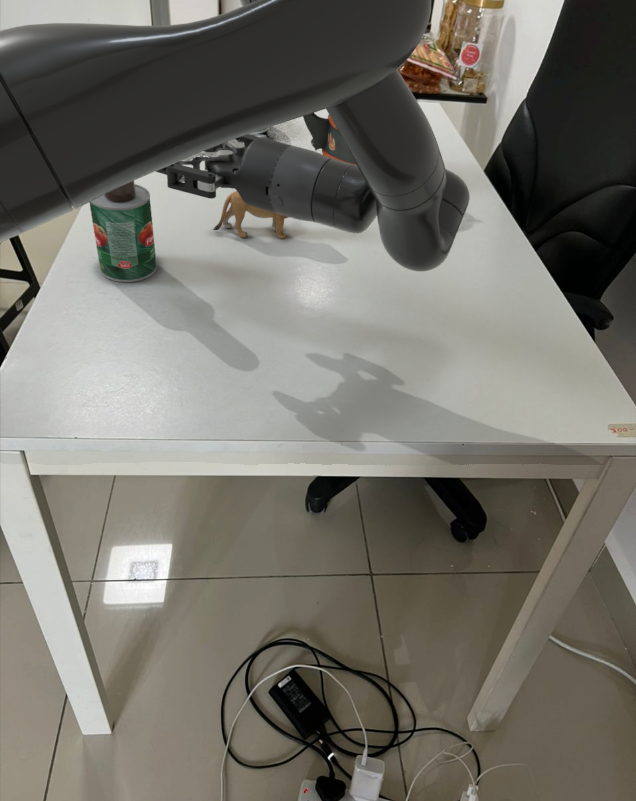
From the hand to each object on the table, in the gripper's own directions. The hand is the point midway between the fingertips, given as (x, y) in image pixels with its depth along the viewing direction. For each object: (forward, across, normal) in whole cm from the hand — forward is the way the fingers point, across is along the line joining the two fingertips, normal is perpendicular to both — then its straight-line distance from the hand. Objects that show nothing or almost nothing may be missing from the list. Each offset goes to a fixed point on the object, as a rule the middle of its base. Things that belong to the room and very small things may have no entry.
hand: (169, 147), depth 77 cm
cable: (+27, -58, +19) cm, 67 cm away
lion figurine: (-2, -21, +19) cm, 28 cm away
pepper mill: (+9, 0, +8) cm, 12 cm away
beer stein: (-4, -50, +19) cm, 54 cm away
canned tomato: (+9, 0, +19) cm, 21 cm away
